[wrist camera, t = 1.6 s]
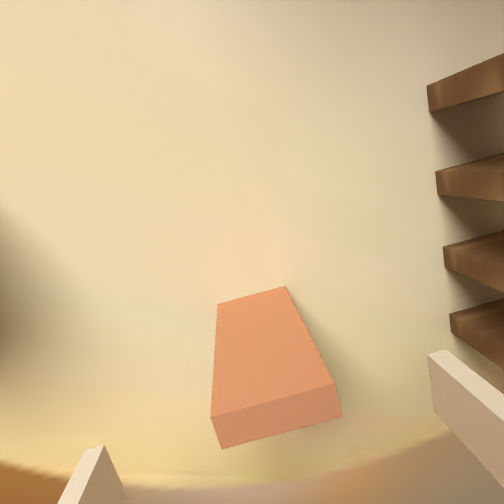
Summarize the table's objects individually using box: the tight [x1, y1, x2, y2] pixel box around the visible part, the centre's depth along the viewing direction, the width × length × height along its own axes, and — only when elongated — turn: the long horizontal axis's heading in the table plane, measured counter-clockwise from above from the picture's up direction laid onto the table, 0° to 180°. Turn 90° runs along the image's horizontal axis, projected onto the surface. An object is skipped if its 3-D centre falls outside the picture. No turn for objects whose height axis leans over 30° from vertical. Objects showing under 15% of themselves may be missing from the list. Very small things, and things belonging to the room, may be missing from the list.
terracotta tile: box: [211, 286, 342, 449], centre depth 18 cm, size 2×5×11 cm, turn 104°
